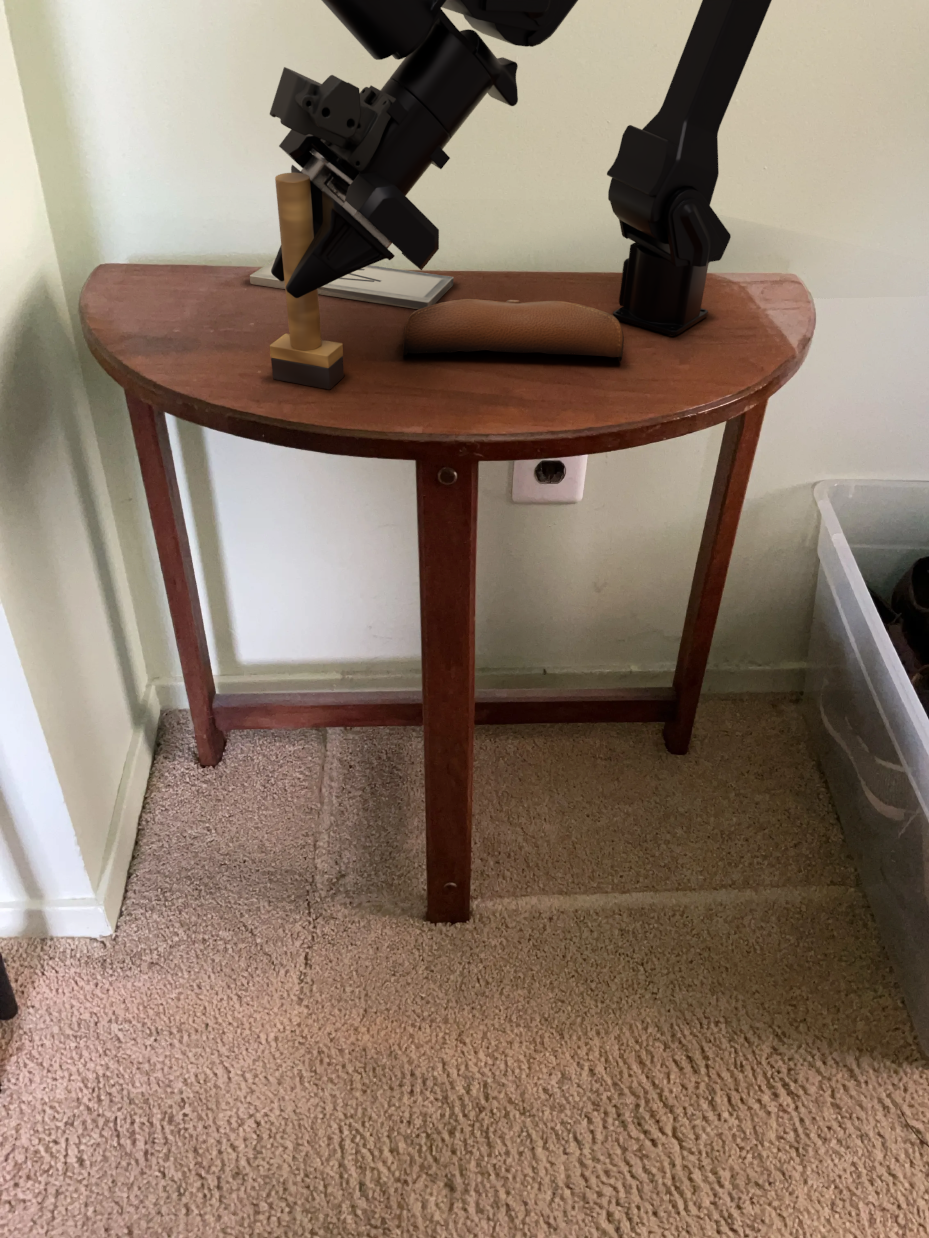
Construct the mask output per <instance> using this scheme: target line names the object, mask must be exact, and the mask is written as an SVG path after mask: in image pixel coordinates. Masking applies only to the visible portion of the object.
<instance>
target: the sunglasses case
mask: <svg viewBox="0 0 929 1238" xmlns="http://www.w3.org/2000/svg"><path fill="white" fill-rule="evenodd" d="M623 331H624V330H623V328H622V324H621V322H620V320H618V319H617V318H616V317H614V316H613V314H611V313H610V312H606V311H604V310H601V309H597V308H594V307H592V306H588V305H583V304H581V303H575V302H570V301H569V302H568V301H560V300H542V301H528V302H521V301H520V300H518V299H508V300H506V301H496V300H491V299H490V300H489V299H478V298H477V299H476V298H462V299H453V300H448V301H444V302H439V303H435V304H434V305H431V306H428V307H425V308H422V309H415V310H414V311H413V312H412V313H411V314H410V315H408V317H407V319H406V322H405V324H404V331H403V340H402V357H404V356H407V355H408V354H438V353H456V352H465V353H468V352H478V351H489V352H503V353H517V354H520V353H540V354H541V353H542V354H547V355H576V356H577V355H578V356H597V357H598V356H599V357H606V358H607V357H608V358H617V361H619V362H620V363H622V359H623V353H624V342H625V339H624V332H623Z"/></svg>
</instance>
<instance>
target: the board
mask: <svg viewBox="0 0 929 1238" xmlns="http://www.w3.org/2000/svg"><path fill="white" fill-rule="evenodd" d="M275 259H276V257H275V258H274V259H272V260H270V261H269V262H268V263H267V264H265V265H263V266H262V267H261V268H259V269H258V270H256V271H255V272H253V273H251V274H250V275H249V281H250V285H256V286H264V287H269V288H276V289H283V290H285V281H280V280H278V279H277V278H276V277H275V276H273V275H272V273H271V269H272V266H273V264H274V261H275ZM453 286H454V276H451V275H441V274H436V273H427V272H420V271H414V270H407V269H406V270H405V269H399V268H393V267H386V266H385V267H384V266H378V265H373V264H371V265H369V266H366V267H364V268H361V269H359V270H357V271H354V272H352V273H350V274H347V275H345V276H343V277H340V278H339V279H337V280H335V281H333V282H330V283H328V284H326V285H324V286H322V287H320V288H318V295H322V296H328V297H334V298H335V297H336V298H340V299H341V298H342V299H349V300H355V301H362V302H367V303H368V302H369V303H375V304H380V305H388V306H394V307H401V308H409V309H415V310H418V309H422V308H425V307H428V306H431V305H434V304H437V302H438V301H439V300H440V299H441V298H443V296H444V295H445V294H446V293H447V292H449V290H450V289H451V288H452V287H453Z"/></svg>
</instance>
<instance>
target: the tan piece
mask: <svg viewBox="0 0 929 1238" xmlns="http://www.w3.org/2000/svg"><path fill="white" fill-rule="evenodd" d="M274 180H275V181H274V182H275V193H276V203H277V204H276V205H277V215H278V224H279V236H280V246H281V248H282V259H283V270H284V281H285V289H284V291H285V302H286V313H287V324H288V333H284V334H283V335H281V336H279V338H278V339H276V340H274V342H272V343H271V344H269V355H270V361H271V362H270V363H271V371H272V378H273V380H276V381H281V382H287V383H290V384H291V383H292V384H297V385H303V386H308V387H313V388H319V389H323V390H328V391H329V390H331V389H332V388H334V387H335V386H336V385H337V384H338V383H339V382H340V381H341V380H342V379H344V377H345V367H344V365H345V364H344V347H343V343H342V342H337V341H329V340H324V339H322V329H321V328H322V327H321V316H320V315H321V314H320V300H319V294H318V289H316V290H314V291H312V292H310V293H308V294H306V295H303V296H301V297H299V298H295V297H293V296H292V295H291V294H290V293H288V292H287V291H286V285H287V283H288V281H289V279H290V278H291V276H292V274H293V272H294V270H295V268H296V267H297V265H298V263H299V262H300V260H301V258H302V257H303V255H304V254H305V252H306V250H307V249H308V247H309V245H310V244H311V242H312V240H313V239H314V228H313V214H312V200H311V185H310V177H309V176H308V175H306V174H303V173H291V172H284V173H280V174H277V175H276V176H275V177H274Z"/></svg>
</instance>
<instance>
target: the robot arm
mask: <svg viewBox="0 0 929 1238" xmlns="http://www.w3.org/2000/svg"><path fill="white" fill-rule="evenodd" d="M578 1H579V0H321V2H322V3H323V4H324V5H325V6H326V7H327V8H328V10H329V11H330V12H331V13H332V14H333V15H334V16H335V17H336V18H337V20H338V21H340V23H341V24H342V25H343V26H344V27H345V28H346V29H347V31H349V32H350V34H351V35H352V36H353V37H354V38H355V39H356V41H357V42H358V43H359V44H360V45H361V46H362V47H363V48H364V50H365V51H366V52H367V53H368V54H369V55H370V56H371V57H372V58H373V59H374V60H377V61H382V60H385V59H387V58H388V59H389V58H390V57H393V58H394V59H395V60H402V61H401V63H400V64H399V66H397V68H396V69H395V70H394V72H393V73H392V74H391V76H390V77H389V79H388V80H387V81H386V83H384V85H383V86H382V87H381V89H379V88H377V87H376V86H373V85H370V86H365V87H364V88H362V90H361V91H360V88H359V87H358V86H356V85H354V84H353V83H351V82H347V81H345V80H343V79H341V78H339V77H338V76H335V75H334V74H331V75H329V76H327V78H326V79H325V80H324V81H323V82H322V83H321V82H318V81H316V80H314V79H312V78H310V77H308V76H307V75H304V74H302V73H299V72H297V71H295V70H293V69H290V68H288V67H286V66H283V70H282V71H281V75H280V79H279V82H278V85H277V87H276V91H275V95H274V98H273V101H272V104H271V107H270V111H269V116H270V117H272V118H277V119H280V124H281V125H282V126H284V127H286V128H288V129H290V130H289V132H288V133H287V135H285V137H284V139H282V141H281V143H279V145H278V147H279V148H280V149H281V150H282V151H283V152H284V153H285V154H286V155H287V156H289V158H291V160H293V161H294V162H295V163H296V164H297V165H298V166H299V167H300V168H301V170H300V169H298V168H297V167H296V166H295V165H294V164H291V167H290V173H303V174H306V175H308V176H309V177H310V185H311V200H312V214H313V228H314V239H313V240H312V242H311V244H310V245H309V247H308V249H307V250H306V252H305V254H304V255H303V257H302V258H301V260H300V262H299V263H298V265H297V267H296V268H295V270H294V272H293V274H292V276H291V278H290V279H289V281H288V283H287V285H286V291H287V292H288V293H290V294H291V295H292V296H293V297H295V298H299V297H301V296H303V295H306V294H308V293H310V292H312V291H314V290H316V289H318V288H320V287H322V286H324V285H326V284H328V283H330V282H333V281H335V280H337V279H339V278H340V277H343V276H345V275H347V274H350V273H352V272H354V271H357V270H359V269H361V268H364V267H366V266H369V265H374V264H376V263H378V262H380V261H383V260H388V261H391V260H393V259H394V258H395V257H396V255H395V254H394V253H393V252H391V250H390V249H389V248H390V246H391V245H392V244H393V245H394V247H396V248H397V249H398V250H399V251H400V252H401V255H402V256H404V257H405V258H406V259H407V260H408V261H409V262H410V263H412V264H413V265H415V266H416V268H418V269H419V270H420V271H423V269H424V268H425V267H426V266H427V264H428V263H429V262H430V261H431V259H433V257H434V256H435V254H436V253H437V252H438V251H439V249H440V229H439V228H438V227H437V226H436V225H435V224H434V223H433V222H432V221H431V220H430V219H429V218H428V216H427V215H425V214H424V213H423V212H422V211H421V210H420V209H419V208H418V207H417V206H416V205H415V204H414V203H413V202H412V201H411V200H410V199H409V198H408V197H407V196H408V194H409V192H411V190H412V189H413V187H414V186H415V185H416V184H417V182H418V181H420V179H421V177H422V176H424V173H425V172H426V171H428V169H429V167H430V166H431V165H433V166H434V167H436V168H438V169H440V170H443V168H444V167H445V165H446V164H447V163H448V162H449V160H450V159H451V157H450V156H449V155H448V154H447V153H446V151H445V150H444V148H445V147H446V146H447V144H448V143H449V142H450V141H451V140H452V138H453V137H454V135H455V134H456V133H457V132H458V130H459V129H460V128H461V127H462V126H463V124H464V123H465V122H466V120H468V118H469V117H470V115H471V114H472V113H473V112H474V110H475V109H476V108H477V107H478V105H479V104H480V103H481V101H482V100H483V99H484V98H485V96H486V95H487V94H488V96H489V97H491V98H492V99H495V100H497V101H498V102H501V103H503V104H506V105H508V106H509V107H515V106H516V105H517V104H518V103H519V102H518V101H519V94H518V93H519V92H518V84H517V71H518V66H519V65H518V63H517V62H516V61H514V60H511V59H509V58H506V57H504V56H503V57H497V56H496V55H495V54H494V52H492V50H491V49H490V48H489V47H488V45H487V44H486V43H485V41H484V39H482V38H481V36H480V35H479V34H478V33H481V34H483V35H484V36H485V35H486V36H488V37H490V38H493V39H496V40H499V41H502V42H505V43H508V44H511V45H513V46H516V47H517V46H518V47H526V48H527V47H530V48H531V47H533V48H534V47H536V46H539V45H541V44H543V43H544V42H546V41H547V40H548V39H550V38H551V37H552V36H553V34H554V33H555V32H556V31H557V30H558V28H559V27H560V26H561V24H562V23H563V22H564V20H565V19H566V18H567V16H568V15H569V14H570V12H571V11H572V9H573V8H574V7H575V5H576V4H577V2H578ZM771 4H772V0H702V1H701V2H700V6H699V8H698V11H697V14H696V16H695V19H694V21H693V25H692V26H691V29H690V32H689V35H688V37H687V40H686V42H685V45H684V47H683V50H682V53H681V55H680V58H679V61H678V62H677V65H676V67H675V68H676V69H675V71H674V73H673V76H672V79H671V81H670V84H669V87H668V88H667V92H666V95H665V97H664V100H663V103H662V105H661V107H660V108H659V110H658V112H657V113H656V114H655V115H654V117H652V119H650V120H649V122H647V123H646V125H645V126H644V127H643V128H642V129H641V128H640V127H636V126H635V125H632V124H628V125H627V126H626V127H625V130H624V132H623V133H622V136H621V139H620V145H619V149H618V152H617V155H616V158H615V159H614V162H613V164H611V166H610V168H609V169H608V170H607V172H606V176H608V177H610V178H611V179H610V183H609V187H608V191H607V194H608V195H607V196H608V197H607V199H608V201H609V203H610V207H611V210H612V213H613V214H614V215H615V216H616V218H617V219H618V221H619V226H620V232H621V237H623V238H625V239H628V240H630V241H631V242H632V243H630V245H629V252H628V258H626V259H624V260H623V262H622V263H623V264H622V272H621V280H620V288H619V297H618V305H619V306H620V307H619V308H618V309H615V310H614V311H613V312H612V315H613V316H614V317H616V318H617V320H618V321H621V322H625V323H627V324H631V325H635V326H637V327H641V328H644V329H647V330H651V331H655V332H658V333H662V334H665V335H668V336H678V335H680V334H681V333H683V332H684V331H686V330H687V329H690V328H691V327H692V326H694V325H696V324H697V323H698V322H700V321H702V320H703V319H705V318H707V317H708V315H709V310H708V309H706V308H702V304H703V297H704V292H705V287H706V282H707V281H706V280H707V275H708V270H709V264H710V263H712V262H719V261H721V260H722V259H723V256H724V254H725V251H726V249H727V247H728V245H729V243H730V240H731V238H732V237H731V233H730V232H729V231H728V229H727V228H726V226H725V225H724V223H723V222H722V220H721V219H720V217H719V216H718V215H717V213H716V211H714V209H713V207H712V206H711V203H712V199H713V195H714V193H715V190H716V185H717V182H718V178H719V175H720V174H719V171H720V170H719V169H720V168H719V141H718V136H719V131H720V127H721V125H722V123H723V120H724V118H725V114H726V113H727V110H728V108H729V106H730V102H731V100H732V98H733V96H734V93H735V91H736V88H737V87H738V86H737V85H738V84H739V81H740V78H741V76H742V74H743V72H744V69H745V66H746V64H747V61H748V59H749V57H750V54H751V52H752V49H753V47H754V45H755V42H756V40H757V37H758V35H759V34H760V33H759V32H760V30H761V27H762V25H763V22H764V20H765V18H766V16H767V13H768V11H769V8H770V6H771ZM442 8H443V9H445V10H448V11H451V12H455V13H457V14H460V15H463V18H464V19H465V21H466V22H467V23H468V24H469V25H470V26H471V28H473V29H474V30H473V29H462V30H459V29H458V28H457V26H456V25H455V24H454V23H453V22H452V21H451V19H450V17H449V16H448V15H447V14H446V13H445V12H444V11H443V9H442ZM275 258H276V259H275ZM275 258H274V259H275V261H274V264H273V266H272V269H271V273H272V275H273V276H275V277H276V278H277V279H278V280H280V281H284V270H283V259H282V248H281V245H280V247H279V249H278V251H277V254H276V256H275Z"/></svg>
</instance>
